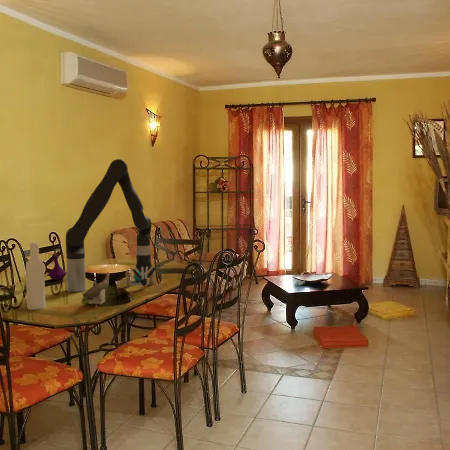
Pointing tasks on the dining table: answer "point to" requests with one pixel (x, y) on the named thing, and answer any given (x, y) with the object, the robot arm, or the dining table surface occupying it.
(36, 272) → the bottle
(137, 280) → the ball
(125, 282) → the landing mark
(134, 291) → the dining table surface
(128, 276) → the left post
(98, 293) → the wood carving
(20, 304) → the dining table surface
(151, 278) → the right post
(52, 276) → the perfume bottle
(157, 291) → the dining table surface
